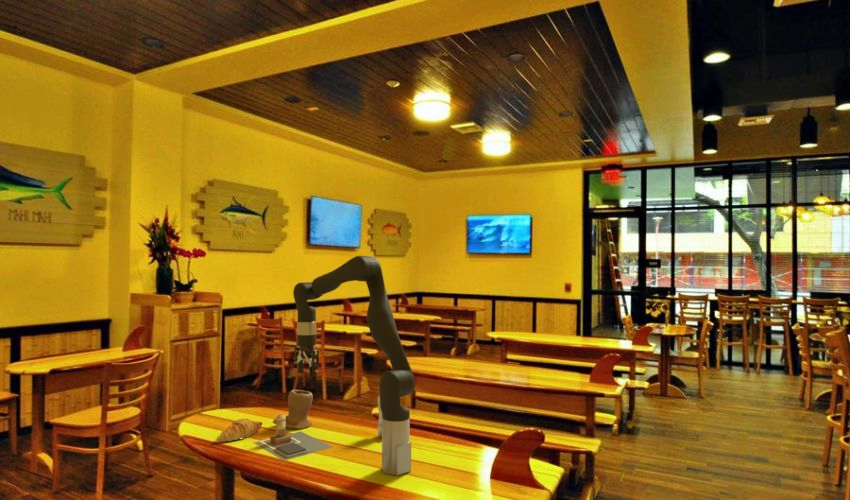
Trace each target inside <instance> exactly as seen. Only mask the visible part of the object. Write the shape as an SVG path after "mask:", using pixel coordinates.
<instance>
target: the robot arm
mask: <svg viewBox="0 0 850 500" xmlns="http://www.w3.org/2000/svg"><path fill="white" fill-rule="evenodd" d="M384 279H385V278H384V275H383V269H382V265H381V263H380V261H379V260H378V258H376V257H374V256H368V255H355V256H354V257H352V258H350V259H349V260H347V261H346V262H344V263H343V264H342V265H340V266H338V267H337V268H335V269H333V270H331V271H329V272H327V273H324V274H322V275H319V276H317V277H316V278H314V279H313V280H312V281H310V282H303V281H302V282H297V284H295V285H294V287H293V294H292V295H293V299H294V303H295V307H296V310H297V324H296V346H294V353H293V354H294V357H293V359H294V362H296V364H297V374H303V373H304V370H305V369H304V366H305V365H304V361H305V360H306V362H307V363H308V365H309V367H308V370H309V371H308V376H309V377H315V376H316V367H317V366H319V365H320V352H319V351H320V350H319V349H315V348H314V346H316V345H317V322H316V319H317V316H316V315H317V314H316V313H317V311H316V308H315V307H314V306H311V305H309V302H308V301H314V300H317V299H319V298H321V297H322V296H324V295H326V294H328V293H331V292H333V291H335V290H338V288H339V287H340V286H342V284H345V283H347V282H365V283H366V286H367V289H368V294H369V304H368V307H367V311H366V321H367V326H368V329H369V332H370V335H371V337H372V339H373V341H374V342H375V343H376V344H377V345H378V347H379V348H380V349H381V350H382V351H383V352H384V353H385V355H386V356H387V358H388V359H389V362H390V366H391V368H392V369H390V370H386V371H384V372H383V373H382V374H381V375H380V378H379V388H378V389H379V395H380V408H381V411H382V437H381V471H382V472H383V473H384V474H387V475H392V476H394V475H395V476H397V477H398V476H400V475H404V474H406V473H409V472H411V471H412V442H411V441H410V433H411V432H410V429H411V428H410V427H411V426H410V424H411V421H410V418H411V414H410V409H409V407H407V406H404V405H402V404H401V397H404V396H409V395H411V394H413V392H414V390H415V388H416V387H415V386H416V381H415V376H414V372H413V370H412V367H411V365H410V363H409V360H408V357H407V355H406V353H405V351H404V348H403V344H402V342H401V338H400V336H399V332H398V329H397V324H396V320H395V318H394V313H393V311H392V309H391V305H390V301H389V298H388V297H389V296H388V294H387V291H386V285H385V280H384Z"/></svg>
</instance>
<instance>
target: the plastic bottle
mask: <svg viewBox="0 0 850 500" xmlns="http://www.w3.org/2000/svg"><path fill="white" fill-rule="evenodd" d="M376 400H377V408H378V421H377V422H378V423H377V424H378V425H377V429H376V430H377V432H376V433H377V435H378V437H379V438H382V411H381V408H380V394H379V395H378V397H377V399H376Z"/></svg>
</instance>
